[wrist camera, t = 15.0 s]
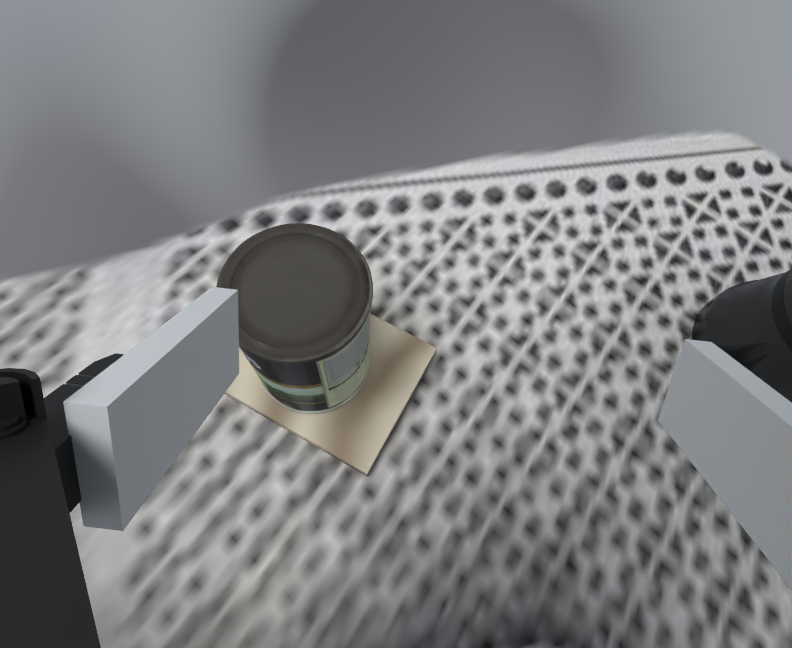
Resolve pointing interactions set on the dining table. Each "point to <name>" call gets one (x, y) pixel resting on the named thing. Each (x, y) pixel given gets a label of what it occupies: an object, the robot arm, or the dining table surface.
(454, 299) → the dining table surface
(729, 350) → the robot arm
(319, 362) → the coffee can
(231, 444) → the dining table surface
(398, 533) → the dining table surface
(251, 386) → the plain beige board
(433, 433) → the dining table surface
